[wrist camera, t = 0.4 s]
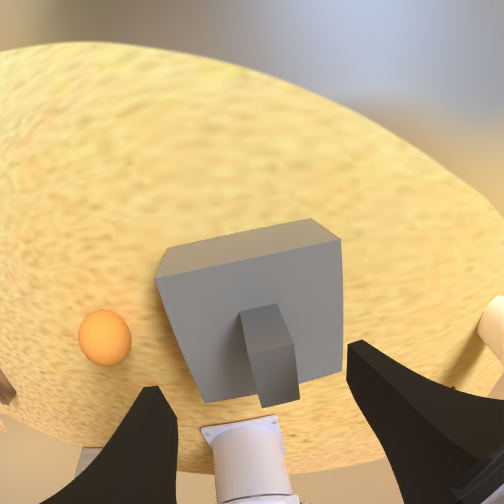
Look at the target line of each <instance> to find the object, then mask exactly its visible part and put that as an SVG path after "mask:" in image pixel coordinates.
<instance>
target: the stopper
mask: <svg viewBox="0 0 504 504" xmlns="http://www.w3.org/2000/svg"><path fill="white" fill-rule="evenodd" d="M15 393H16V391H15V390H14V388H13V387H12V386H11V384H10V383H9V381H8V380H7V379H6V377H5V376H4V374H3V373H2V371H1V370H0V402H1V403H2V404H4V405H9V404H10V402H11V400H12V398H13V397H14V395H15Z"/></svg>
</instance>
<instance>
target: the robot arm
mask: <svg viewBox="0 0 504 504" xmlns="http://www.w3.org/2000/svg"><path fill="white" fill-rule="evenodd" d="M346 381H347V383H348V385H349V388H350V390H351V392H352V395H353V397H354V399H355V401H356V403H357V405H358V406H359V408H360V410H361V411H362V413H363V415H364V416H365V418H366V420H367V421H368V423H369V425H370V426H371V428H372V430H373V431H374V433H375V434H376V436H377V438H378V439H379V441H380V443H381V445H382V447H383V449H384V451H385V453H386V456H387V458H388V460H389V462H390V465H391V467H392V470H393V472H394V475H395V477H396V480H397V483H398V486H399V489H400V491H401V494H402V498H403V501H404V504H504V400H498V399H491V398H485V397H480V396H476V395H472V394H468V393H464V392H461V391H458V390H454V389H451V388H449V387H446V386H444V385H441V384H439V383H436V382H434V381H432V380H429V379H427V378H425V377H423V376H421V375H419V374H417V373H415V372H414V371H412V370H410V369H408V368H407V367H405V366H403V365H401V364H400V363H398V362H396V361H395V360H393V359H392V358H390V357H388V356H387V355H385V354H384V353H382V352H381V351H379V350H378V349H376V348H375V347H373V346H371V345H370V344H368V343H367V342H365V341H364V340H359V341H356V342H353V343H350V344H348V351H347V376H346ZM201 433H202V435H203V437H204V438H205V440H206V441H207V443H208V444H209V446H210V448H211V449H212V451H213V458H214V472H215V485H216V496H217V504H310V503H308V502H307V501H299V498H298V495H297V494H296V495H293V492H292V488H291V484H290V481H289V477H288V473H287V469H286V465H285V462H284V458H283V455H284V454H285V450H284V445H283V440H282V435H281V431H280V426H279V421H278V417H277V416H276V415H271V416H266V417H262V418H257V419H252V420H246V421H241V422H235V423H229V424H222V425H215V426H207V427H202V428H201ZM177 453H178V425H177V417H176V415H175V413H174V412H173V410H172V409H171V407H170V405H169V404H168V402H167V400H166V399H165V397H164V395H163V394H162V392H161V390H160V388H159V387H158V386H151V387H144V388H143V389H142V391H141V392H140V394H139V395H138V397H137V398H136V400H135V402H134V403H133V405H132V406H131V408H130V410H129V411H128V413H127V414H126V416H125V418H124V419H123V421H122V422H121V424H120V425H119V427H118V428H117V430H116V431H115V433H114V434H113V436H112V437H111V438H110V440H109V441H108V442H107V444H106V445H105V447H104V448H103V449H102V450H101V452H100V453H99V454H98V455H97V457H96V458H95V459H94V460H93V461H92V462H91V463H90V464H89V465H88V467H87V468H86V469H85V470H83V471H82V472H81V473H80V474H79V475H78V476H77V477H76V478H75V479H74V480H73V481H72V482H71V483H69V484H68V485H67V486H65V487H64V488H63V489H62V490H60V491H59V492H57V493H56V494H55V495H53V496H52V497H50V498H48V499H47V500H45V501H43V502H41V503H40V504H177V503H176V469H177Z"/></svg>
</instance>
